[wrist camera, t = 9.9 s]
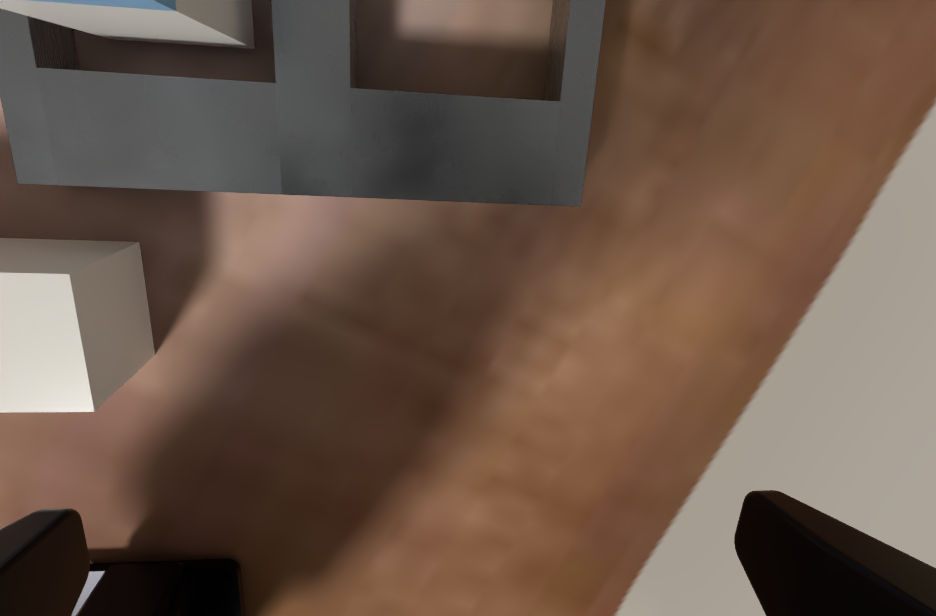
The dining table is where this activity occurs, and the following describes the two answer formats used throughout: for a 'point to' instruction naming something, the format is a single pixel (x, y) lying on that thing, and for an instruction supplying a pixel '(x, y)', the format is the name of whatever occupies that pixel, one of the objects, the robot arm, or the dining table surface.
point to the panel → (299, 120)
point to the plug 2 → (70, 322)
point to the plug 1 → (149, 19)
